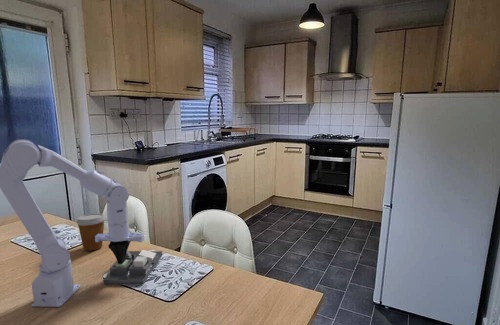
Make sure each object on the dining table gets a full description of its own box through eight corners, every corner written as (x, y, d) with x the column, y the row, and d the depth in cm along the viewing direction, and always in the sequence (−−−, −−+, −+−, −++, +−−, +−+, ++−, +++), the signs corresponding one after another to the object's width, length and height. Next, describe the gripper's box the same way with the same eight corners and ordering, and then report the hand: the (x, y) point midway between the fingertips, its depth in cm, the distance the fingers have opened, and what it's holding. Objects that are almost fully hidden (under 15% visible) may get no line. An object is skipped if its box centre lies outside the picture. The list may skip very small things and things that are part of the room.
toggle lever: (131, 258, 97) (122, 245, 96) (127, 260, 97) (118, 247, 96) (133, 256, 99) (124, 243, 98) (129, 258, 99) (120, 245, 98)
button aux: (143, 267, 90) (142, 261, 90) (133, 267, 90) (133, 261, 90) (146, 262, 93) (146, 256, 93) (137, 262, 93) (137, 256, 93)
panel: (143, 284, 86) (143, 274, 86) (103, 284, 86) (102, 274, 86) (162, 255, 104) (162, 246, 103) (129, 254, 104) (128, 246, 104)
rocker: (152, 260, 96) (152, 258, 96) (138, 257, 96) (138, 254, 96) (155, 255, 99) (156, 253, 99) (142, 251, 99) (142, 249, 99)
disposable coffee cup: (88, 254, 103) (86, 221, 102) (73, 249, 107) (70, 218, 106) (112, 245, 111) (110, 214, 110) (96, 241, 116) (95, 212, 115)
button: (124, 270, 90) (124, 264, 90) (115, 270, 90) (114, 264, 90) (128, 265, 93) (128, 259, 93) (119, 265, 93) (119, 259, 93)
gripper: (146, 217, 93) (148, 256, 95) (101, 217, 93) (105, 255, 96) (137, 225, 86) (140, 267, 88) (89, 225, 86) (93, 267, 89)
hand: (121, 262), depth 92 cm, fingers closed, pressing on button
